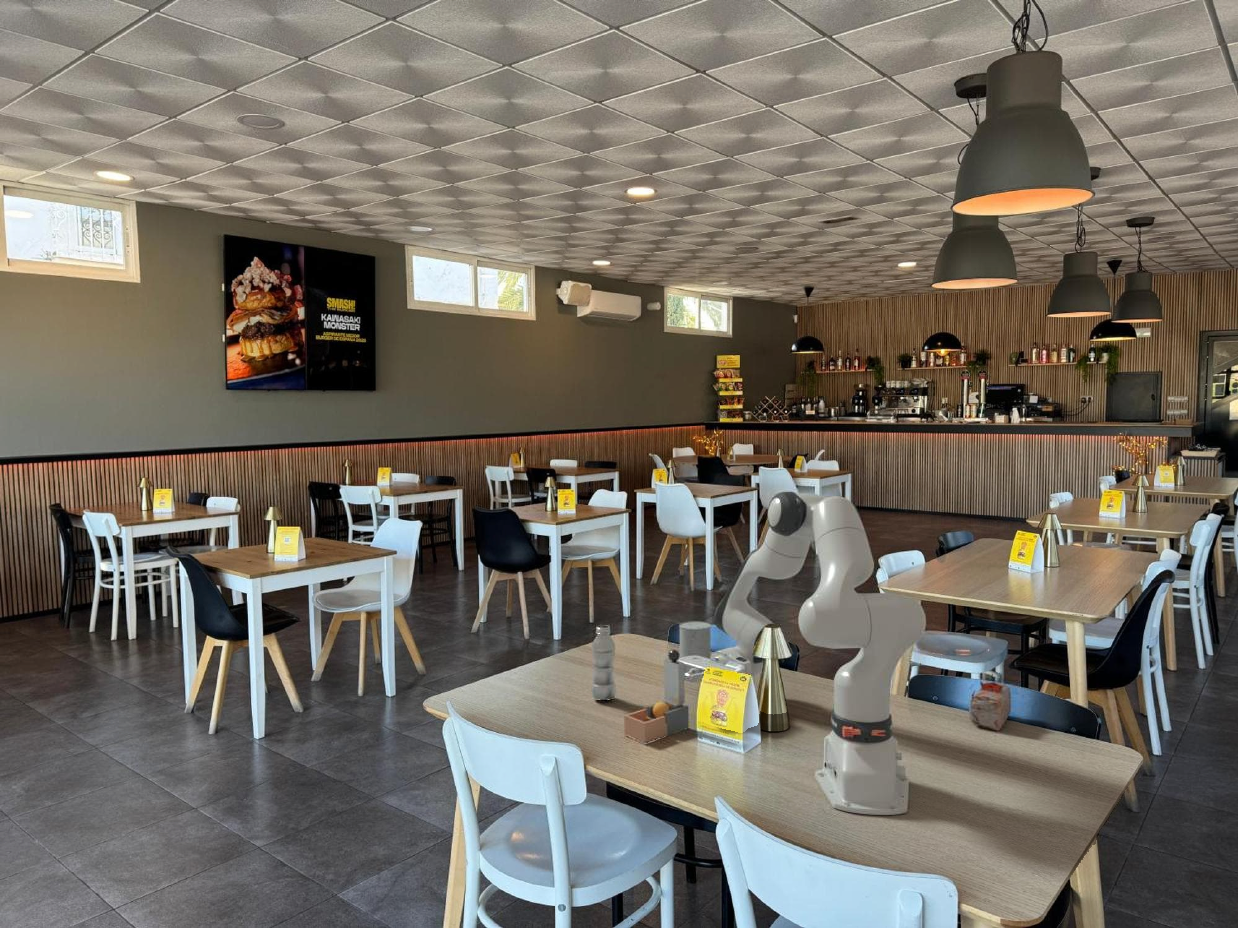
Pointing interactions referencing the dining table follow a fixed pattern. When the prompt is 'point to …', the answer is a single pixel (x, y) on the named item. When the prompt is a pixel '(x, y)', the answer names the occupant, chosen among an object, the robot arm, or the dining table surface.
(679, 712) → the launcher
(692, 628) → the grey cylinder
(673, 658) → the grey upright post
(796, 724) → the dining table surface
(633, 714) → the cup
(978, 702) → the food item
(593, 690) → the plastic bottle
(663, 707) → the ball
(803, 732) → the dining table surface
